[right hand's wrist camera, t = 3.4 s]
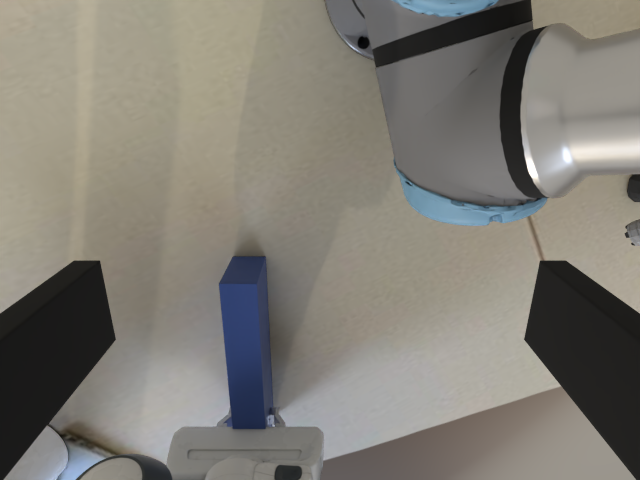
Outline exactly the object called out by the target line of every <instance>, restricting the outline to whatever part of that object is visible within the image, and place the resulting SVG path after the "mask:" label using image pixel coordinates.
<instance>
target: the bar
mask: <svg viewBox="0 0 640 480" xmlns="http://www.w3.org/2000/svg"><path fill="white" fill-rule="evenodd" d="M219 290H220V300H221V311H222V321H223V332H224V343H225V353H226V364H227V375H228V385H229V396H230V406H231V417H232V428H233V429H266V427H272V424H269V411H270V407H273V394H272V373H271V353H270V332H269V312H268V292H267V271H266V257H233V258H232V260H231V261H230V263H229V265H228V267H227V269H226V271H225V273H224V275H223V277H222V279H221V281H220V283H219Z"/></svg>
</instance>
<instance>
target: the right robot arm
mask: <svg viewBox="0 0 640 480" xmlns="http://www.w3.org/2000/svg"><path fill="white" fill-rule="evenodd" d="M325 5H326V9H327V13H328V16H329V18H330V21H331V23H332V25H333V27H334V29H335V31H336V32H337V34H338V35H339V36H340V38H341V39H342V40H343V41H344V42H345V44H346V45H348V46H349V47H350V48H351V49H352V50H354V51H355V52H356V53H358V54H360V55H361V56H363V57H366V58H368V59H371V60H374V61H375V65H376V67H378V68H375V69H376V73H377V78H378V83H379V87H380V92H381V97H382V101H383V106H384V111H385V115H386V120H387V125H388V129H389V134H390V139H391V143H392V148H393V153H394V166H395V168H396V172H397V173H398V175H399V177H400V180H401V183H402V187H403V191H404V195H405V197H406V199H407V201H408V202H409V204H410V205H411V206H412V207H413V208H414V209H415V210H416V211H417V212H419V213H420V214H422V215H424V216H426V217H428V218H431V219H433V220H436V221H440V222H444V223H449V224H456V225H468V226H479V225H488V224H489V223H490V222H492V221H497V222H500V223H507V222H512V221H516V220H519V219H522V218H525V217H527V216H529V215H532V214H534V213H535V212H537V211H538V210H539V209H540V208H541V207H543V205H544V204H545V203H546V201H547V198H558V197H563V196H565V195H566V194H568V193H569V192H570V191H571V190H572V189H573V188H575V187H576V186H577V185H578V184H579V183H580V182H581V181H583V180H584V179H585V178H586V177H588V176H590V175H625V174H640V29H636V30H631V31H627V32H623V33H619V34H615V35H611V36H607V37H603V38H598V39H588V38H586V37H584V36H583V35H581V34H580V33H578V32H577V31H576V30H574V29H573V28H571V27H570V26H568V25H566V24H563V23H558V24H551V25H549V26H545V27H542V28H538V29H535V30H533V21H532V20H533V19H532V8H531V0H325ZM473 38H474V39H473ZM456 43H457V44H456ZM453 44H454V45H453ZM449 45H450V46H449ZM446 46H447V47H446ZM443 47H444V48H443ZM439 48H440V49H439ZM436 49H437V50H436ZM433 50H434V51H433ZM429 51H431V52H429ZM426 52H427V53H426ZM387 64H388V65H387ZM383 65H384V66H383ZM379 66H381V67H379ZM115 340H116V338H115V333H114V328H113V323H112V319H111V314H110V309H109V304H108V299H107V294H106V289H105V284H104V279H103V274H102V269H101V264H100V261H73V262H72V263H70V264H69V265H67V266H66V267H65V268H63V269H62V270H60V271H59V272H58V273H56V274H55V275H54V276H52V277H51V278H49V279H48V280H47V281H45V282H44V283H42V284H41V285H40V286H38V287H37V288H35V289H34V290H33V291H31V292H30V293H28V294H27V295H26V296H24V297H23V298H21V299H20V300H19V301H17V302H16V303H14V304H13V305H12V306H10V307H9V308H8V309H6V310H5V311H3V312H2V313H1V314H0V480H4V479H5V477H6V476H7V475H8V474H9V472H10V471H11V470H12V469H13V467H14V466H15V465H16V464H17V462H18V461H19V460H20V459H21V457H22V456H23V455H24V454H25V452H26V451H27V450H28V449H29V447H30V446H31V445H32V444H33V442H34V441H35V440H36V439H37V437H38V436H39V435H40V434H41V432H42V431H43V430H44V429H45V427H46V426H47V425H48V424H49V422H50V421H51V420H52V419H53V417H54V416H55V415H56V414H57V412H58V411H59V410H60V409H61V407H62V406H63V405H64V404H65V402H66V401H67V400H68V399H69V397H70V396H71V395H72V394H73V392H74V391H75V390H76V389H77V387H78V386H79V385H80V384H81V382H82V381H83V380H84V379H85V377H86V376H87V375H88V374H89V372H90V371H91V370H92V369H93V367H94V366H95V365H96V364H97V362H98V361H99V360H100V359H101V357H102V356H103V355H104V354H105V352H106V351H107V350H108V349H109V347H110V346H111V345H112V344H113V342H114V341H115ZM524 340H525V341H526V342H527V344H528V345H529V346H530V347H531V349H532V350H533V351H534V352H535V354H536V355H537V356H538V357H539V359H540V360H541V361H542V362H543V364H544V365H545V366H546V367H547V369H548V370H549V371H550V372H551V374H552V375H553V376H554V377H555V379H556V380H557V381H558V382H559V384H560V385H561V386H562V387H563V389H564V390H565V391H566V392H567V394H568V395H569V396H570V397H571V399H572V400H573V401H574V402H575V404H576V405H577V406H578V407H579V409H580V410H581V411H582V412H583V414H584V415H585V416H586V417H587V419H588V420H589V421H590V422H591V424H592V425H593V426H594V427H595V429H596V430H597V431H598V432H599V434H600V435H601V436H602V437H603V439H604V440H605V441H606V442H607V444H608V445H609V446H610V447H611V449H612V450H613V451H614V452H615V454H616V455H617V456H618V457H619V459H620V460H621V461H622V462H623V464H624V465H625V466H626V467H627V469H628V470H629V471H630V472H631V474H632V475H633V476H634V477H635V478H636V480H640V314H639V313H638V312H637V311H635V310H634V309H632V308H631V307H630V306H628V305H627V304H626V303H624V302H623V301H621V300H620V299H619V298H617V297H616V296H614V295H613V294H612V293H610V292H609V291H607V290H606V289H605V288H603V287H602V286H600V285H599V284H598V283H596V282H595V281H593V280H592V279H591V278H589V277H588V276H586V275H585V274H584V273H582V272H581V271H580V270H578V269H577V268H575V267H574V266H573V265H571V264H570V263H568V262H567V261H540V264H539V269H538V274H537V279H536V284H535V289H534V294H533V299H532V304H531V309H530V314H529V319H528V323H527V328H526V333H525V338H524Z"/></svg>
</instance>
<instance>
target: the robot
mask: <svg viewBox="0 0 640 480" xmlns="http://www.w3.org/2000/svg"><path fill="white" fill-rule="evenodd" d="M627 192H628V196H629V197H630V198H631V199H632V200H633V201H634V202H640V174H634V175H633V176H632V177H631V178H630V179H629V185H628V190H627ZM626 229H627V232H626V233H625V236H626V238H630V239H631V241H632V243H631V244H632V245H636V246H640V219H639V220H636V221H634V222H631V223H630V224H628V225H627V226H626Z"/></svg>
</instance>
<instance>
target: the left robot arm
mask: <svg viewBox="0 0 640 480" xmlns="http://www.w3.org/2000/svg"><path fill="white" fill-rule="evenodd" d="M269 424H275V427H266V429H233V428H232V417H231V407H230V410H229V414H228V415H227V416H225V417H224V418H223V419H222V420H221V421H220V422H218V424H217V427H182V428H181V429H179V430H178V431H176V432H175V434H174V436H173V438H172V441H171V445H170V448H169V453H168V458H167V465H165V464H163V463H162V462H160V461H158V460H156V459H154V458H151V457H148V456H144V455H139V454H122V455H116V456H112V457H109V458H106V459H104V460H102V461H100V462H98V463H96V464H94V465H93V466H91V467H90V468H89V469H87V470H86V471H85V472H84V473H82V474H81V475H80V476H79V477H78V478H77V479H76V480H320V478H321V473H322V466H323V455H324V433H323V432H322V431H321V430H320V429H319V428H318V427H285V422H284V421H283V419H282V418H281V416H280V407H270V411H269ZM67 462H68V451H67V447H66V445H65V443H64V441H63V440H62V438H61V437H60V436H59V435H58V434H57V433H56V432H55V431H54V430H53V429H52V428H50V427H49V426H48V425H47V426H46V427H45V429H44V430H43V431H42V432H41V434H40V435H39V436H38V437H37V439H36V440H35V441H34V442H33V444H32V445H31V446H30V447H29V449H28V450H27V451H26V452H25V454H24V455H23V456H22V457H21V459H20V460H19V461H18V462H17V464H16V465H15V466H14V467H13V469H12V470H11V471H10V472H9V474H8V475H7V476H6V477H5V479H4V480H57V478H58V476H59V475H60V474H61V472H62V471H63V470H64V469H65V467H66V465H67Z"/></svg>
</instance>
